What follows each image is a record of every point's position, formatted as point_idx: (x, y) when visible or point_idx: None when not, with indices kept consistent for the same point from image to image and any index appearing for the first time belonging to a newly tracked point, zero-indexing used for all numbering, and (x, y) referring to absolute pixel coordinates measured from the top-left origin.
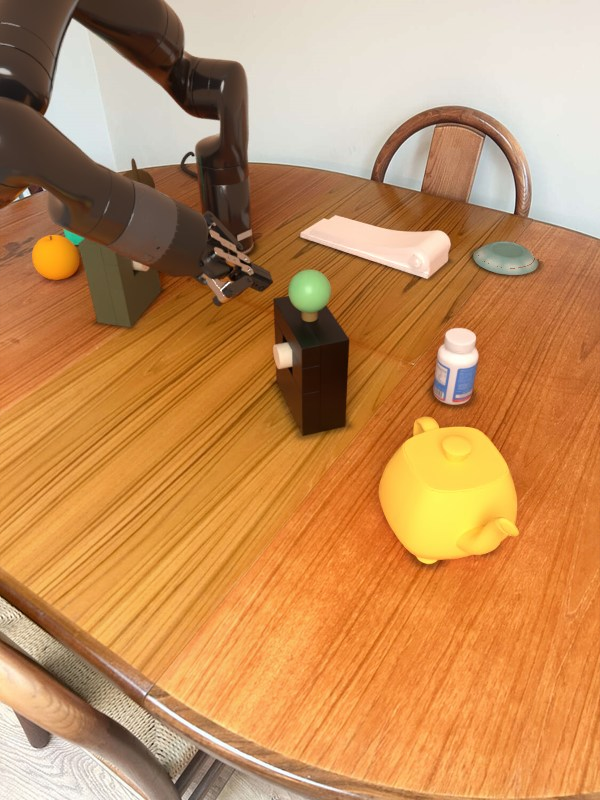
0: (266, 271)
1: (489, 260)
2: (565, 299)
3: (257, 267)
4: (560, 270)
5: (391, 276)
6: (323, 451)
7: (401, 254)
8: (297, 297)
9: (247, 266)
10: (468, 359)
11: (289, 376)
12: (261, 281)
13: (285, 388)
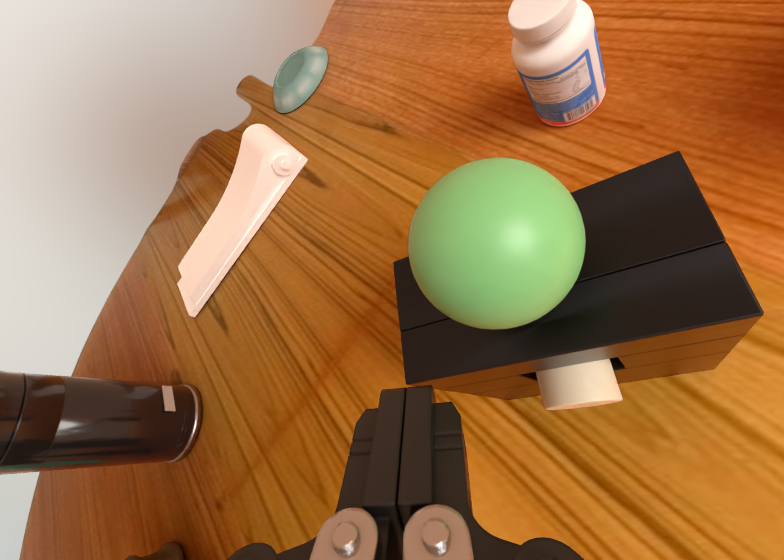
0: (388, 408)
1: (299, 89)
2: (380, 7)
3: (383, 459)
4: (331, 23)
5: (292, 203)
6: (780, 326)
7: (265, 182)
8: (557, 288)
9: (414, 553)
10: (583, 5)
11: None
12: (453, 446)
13: None
